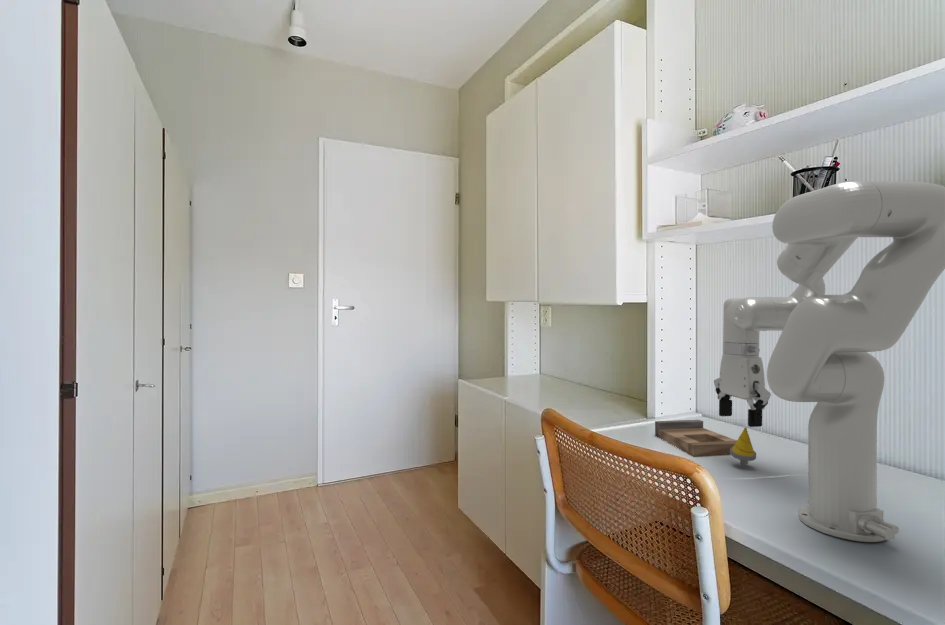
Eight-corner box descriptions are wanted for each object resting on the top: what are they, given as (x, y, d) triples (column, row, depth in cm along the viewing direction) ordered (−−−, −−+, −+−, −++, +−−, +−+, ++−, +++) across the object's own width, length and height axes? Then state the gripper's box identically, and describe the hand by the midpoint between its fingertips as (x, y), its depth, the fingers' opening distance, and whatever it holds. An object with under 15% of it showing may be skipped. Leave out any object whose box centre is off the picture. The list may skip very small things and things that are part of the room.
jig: (743, 454, 119) (743, 435, 119) (693, 457, 117) (693, 437, 117) (698, 436, 137) (698, 419, 137) (655, 438, 135) (655, 421, 135)
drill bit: (748, 460, 113) (752, 422, 110) (759, 472, 107) (763, 432, 105) (725, 459, 113) (728, 421, 111) (735, 471, 108) (739, 431, 106)
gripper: (784, 353, 103) (782, 430, 103) (729, 346, 120) (728, 411, 120) (753, 354, 101) (752, 431, 102) (703, 346, 119) (702, 412, 119)
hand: (739, 420), depth 111 cm, fingers open, 9 cm apart
